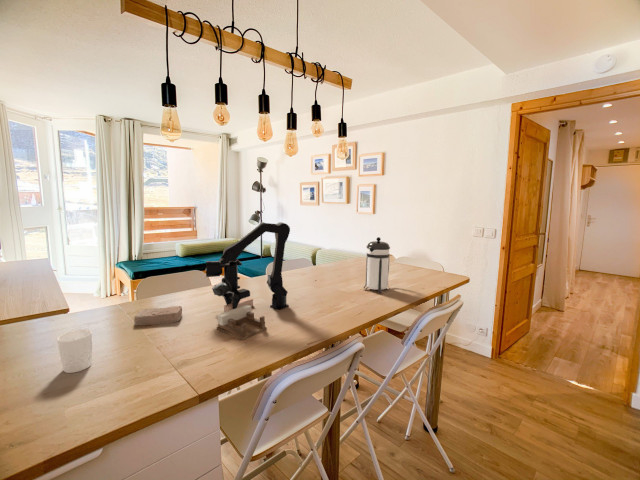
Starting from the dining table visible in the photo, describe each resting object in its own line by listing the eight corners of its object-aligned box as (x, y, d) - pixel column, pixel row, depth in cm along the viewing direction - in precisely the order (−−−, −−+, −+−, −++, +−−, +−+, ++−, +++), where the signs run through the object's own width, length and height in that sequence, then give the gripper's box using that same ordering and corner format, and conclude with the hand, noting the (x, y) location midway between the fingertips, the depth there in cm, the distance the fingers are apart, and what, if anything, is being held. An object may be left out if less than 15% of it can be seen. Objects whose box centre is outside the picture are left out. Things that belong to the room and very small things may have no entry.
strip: (246, 312, 126) (246, 304, 126) (251, 314, 125) (251, 306, 124) (217, 323, 115) (217, 314, 115) (222, 325, 113) (222, 316, 113)
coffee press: (394, 294, 164) (397, 239, 160) (365, 293, 165) (367, 238, 161) (387, 284, 182) (390, 235, 178) (361, 284, 182) (362, 234, 178)
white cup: (73, 360, 94) (70, 329, 93) (100, 359, 95) (97, 329, 93) (53, 375, 86) (49, 341, 85) (83, 374, 87) (79, 341, 86)
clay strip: (248, 304, 145) (248, 297, 145) (253, 306, 143) (252, 298, 143) (224, 313, 134) (223, 305, 134) (228, 314, 132) (228, 307, 132)
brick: (133, 327, 119) (133, 315, 119) (140, 318, 127) (139, 308, 127) (179, 323, 124) (178, 312, 123) (182, 315, 132) (182, 305, 131)
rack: (241, 319, 127) (241, 307, 127) (266, 328, 119) (266, 316, 118) (216, 329, 118) (216, 316, 117) (242, 340, 109) (241, 326, 108)
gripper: (202, 275, 132) (203, 309, 134) (229, 283, 121) (230, 320, 123) (223, 270, 141) (224, 303, 143) (250, 277, 130) (251, 312, 132)
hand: (231, 309), depth 135 cm, fingers open, 3 cm apart
